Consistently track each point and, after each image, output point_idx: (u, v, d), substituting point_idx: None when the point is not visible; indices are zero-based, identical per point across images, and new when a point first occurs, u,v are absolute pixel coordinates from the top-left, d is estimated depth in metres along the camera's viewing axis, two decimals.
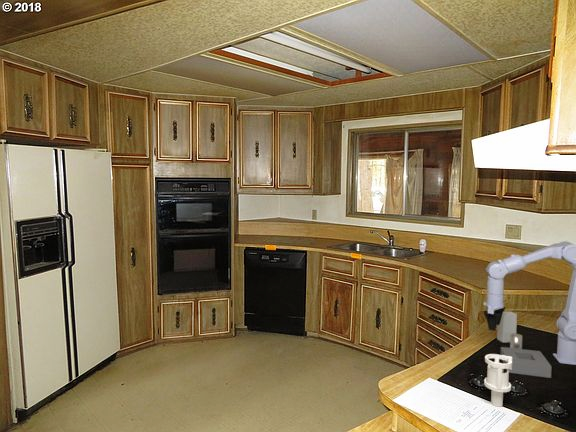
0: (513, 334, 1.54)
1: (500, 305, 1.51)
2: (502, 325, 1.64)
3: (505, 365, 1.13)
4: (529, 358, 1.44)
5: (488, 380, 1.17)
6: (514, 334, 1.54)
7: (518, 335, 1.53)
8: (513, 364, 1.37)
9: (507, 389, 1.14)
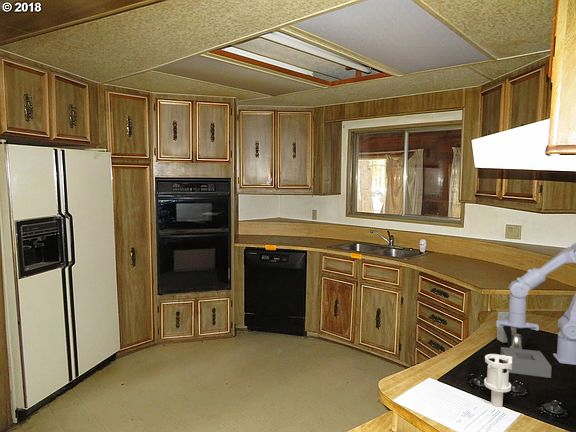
0: (513, 334, 1.54)
1: (513, 323, 1.52)
2: None
3: (505, 365, 1.13)
4: (529, 358, 1.44)
5: (488, 380, 1.17)
6: (514, 334, 1.54)
7: (518, 335, 1.53)
8: (513, 364, 1.37)
9: (507, 389, 1.14)
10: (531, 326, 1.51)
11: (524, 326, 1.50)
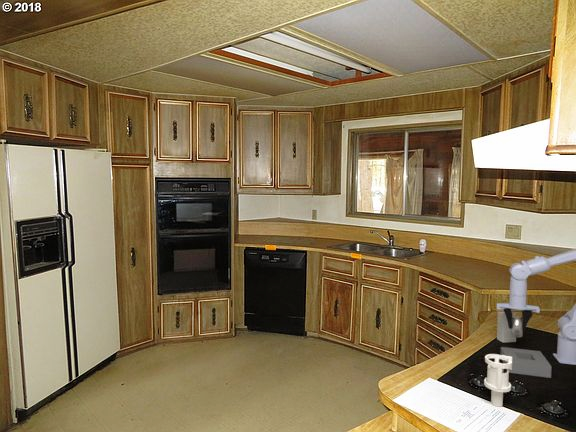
0: (514, 317, 1.54)
1: (513, 305, 1.51)
2: (502, 325, 1.64)
3: (505, 365, 1.13)
4: (529, 358, 1.44)
5: (488, 380, 1.17)
6: (515, 317, 1.54)
7: (519, 318, 1.53)
8: (513, 364, 1.37)
9: (507, 389, 1.14)
10: (532, 308, 1.50)
11: (525, 308, 1.50)
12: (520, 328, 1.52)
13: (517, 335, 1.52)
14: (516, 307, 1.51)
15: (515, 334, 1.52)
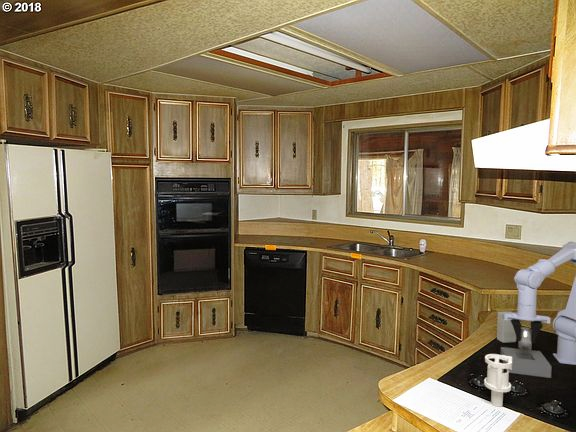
0: (522, 328, 1.42)
1: (522, 316, 1.39)
2: (502, 325, 1.64)
3: (505, 365, 1.13)
4: (529, 358, 1.44)
5: (488, 380, 1.17)
6: (523, 328, 1.42)
7: (527, 329, 1.41)
8: (513, 364, 1.37)
9: (507, 389, 1.14)
10: (542, 319, 1.38)
11: (535, 319, 1.38)
12: (529, 340, 1.39)
13: (526, 348, 1.40)
14: (525, 318, 1.38)
15: (524, 347, 1.40)
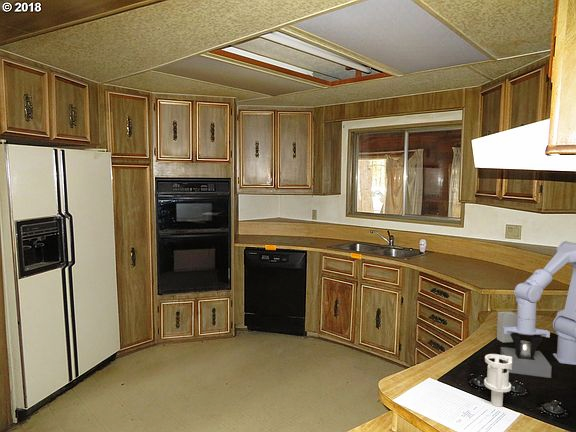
0: (521, 341, 1.42)
1: (522, 330, 1.39)
2: (502, 325, 1.64)
3: (505, 365, 1.13)
4: None
5: (488, 380, 1.17)
6: (522, 341, 1.42)
7: (527, 342, 1.41)
8: (513, 364, 1.37)
9: (507, 389, 1.14)
10: (541, 333, 1.38)
11: (534, 333, 1.38)
12: (529, 354, 1.40)
13: None
14: (525, 332, 1.38)
15: None
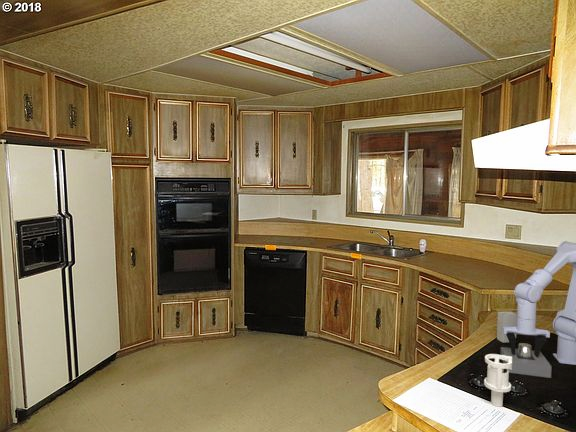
0: (522, 344, 1.42)
1: (522, 330, 1.39)
2: (502, 325, 1.64)
3: (505, 365, 1.13)
4: None
5: (488, 380, 1.17)
6: (523, 344, 1.42)
7: (527, 345, 1.41)
8: (513, 364, 1.37)
9: (507, 389, 1.14)
10: (541, 333, 1.38)
11: (534, 333, 1.38)
12: (529, 357, 1.40)
13: None
14: (525, 332, 1.38)
15: None
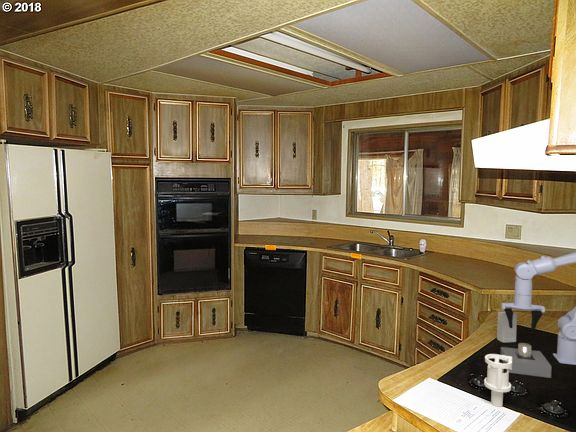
0: (521, 344, 1.42)
1: (519, 305, 1.50)
2: (502, 325, 1.64)
3: (505, 365, 1.13)
4: None
5: (488, 380, 1.17)
6: (522, 344, 1.42)
7: (527, 345, 1.41)
8: (513, 364, 1.37)
9: (507, 389, 1.14)
10: (537, 308, 1.49)
11: (530, 308, 1.49)
12: (529, 357, 1.40)
13: None
14: (521, 307, 1.50)
15: None
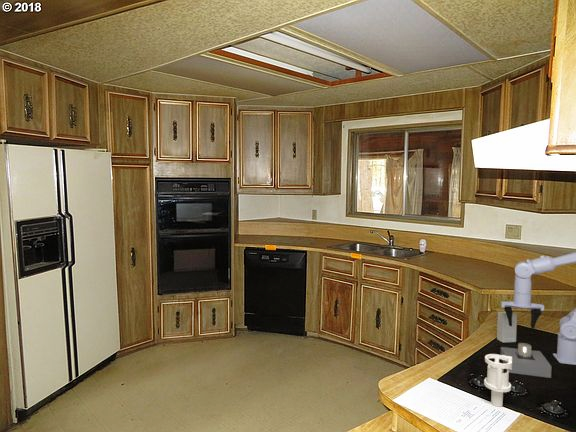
0: (521, 344, 1.42)
1: (518, 303, 1.52)
2: (502, 325, 1.64)
3: (505, 365, 1.13)
4: None
5: (488, 380, 1.17)
6: (522, 344, 1.42)
7: (527, 345, 1.41)
8: (513, 364, 1.37)
9: (507, 389, 1.14)
10: (536, 306, 1.51)
11: (529, 306, 1.51)
12: (529, 357, 1.40)
13: None
14: (521, 305, 1.52)
15: None
